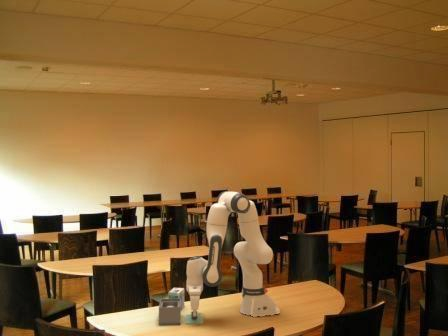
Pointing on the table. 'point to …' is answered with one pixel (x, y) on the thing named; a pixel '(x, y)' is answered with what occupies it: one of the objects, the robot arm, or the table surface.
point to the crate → (169, 311)
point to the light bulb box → (177, 295)
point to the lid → (194, 319)
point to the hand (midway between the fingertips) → (194, 312)
